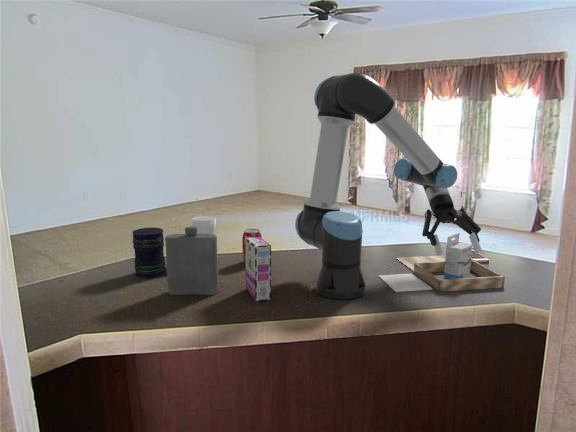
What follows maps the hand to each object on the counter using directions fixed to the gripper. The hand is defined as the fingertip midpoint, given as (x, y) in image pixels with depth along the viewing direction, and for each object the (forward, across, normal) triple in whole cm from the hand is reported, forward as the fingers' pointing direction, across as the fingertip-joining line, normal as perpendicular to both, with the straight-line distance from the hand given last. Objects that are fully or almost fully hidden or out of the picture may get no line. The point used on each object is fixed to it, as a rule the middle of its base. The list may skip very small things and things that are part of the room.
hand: (459, 252), depth 143 cm
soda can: (-14, +65, -26) cm, 71 cm away
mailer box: (+1, +1, -11) cm, 11 cm away
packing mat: (+7, +19, -5) cm, 21 cm away
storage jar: (-9, +100, -21) cm, 103 cm away
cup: (-17, +82, -30) cm, 89 cm away
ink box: (+7, +1, -5) cm, 9 cm away
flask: (+4, +85, -8) cm, 86 cm away
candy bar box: (+8, +66, -4) cm, 67 cm away
